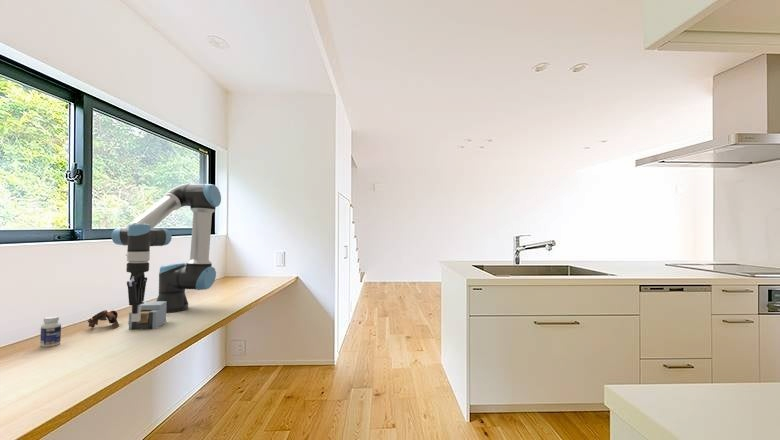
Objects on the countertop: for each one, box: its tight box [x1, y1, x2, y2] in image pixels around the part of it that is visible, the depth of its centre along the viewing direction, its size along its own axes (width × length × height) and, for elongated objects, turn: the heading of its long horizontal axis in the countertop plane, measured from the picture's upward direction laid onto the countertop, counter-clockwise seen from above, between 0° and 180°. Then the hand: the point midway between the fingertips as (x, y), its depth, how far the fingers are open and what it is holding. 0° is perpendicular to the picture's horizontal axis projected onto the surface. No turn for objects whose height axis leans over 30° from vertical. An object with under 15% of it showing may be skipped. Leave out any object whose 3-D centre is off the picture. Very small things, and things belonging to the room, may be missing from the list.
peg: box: [137, 310, 152, 323], centre depth 161 cm, size 12×4×4 cm, turn 13°
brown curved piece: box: [87, 309, 120, 329], centre depth 157 cm, size 12×10×8 cm
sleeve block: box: [128, 301, 167, 331], centre depth 161 cm, size 12×10×9 cm
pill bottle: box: [39, 315, 62, 348], centre depth 134 cm, size 5×5×10 cm
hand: (135, 321), depth 149 cm, fingers closed
